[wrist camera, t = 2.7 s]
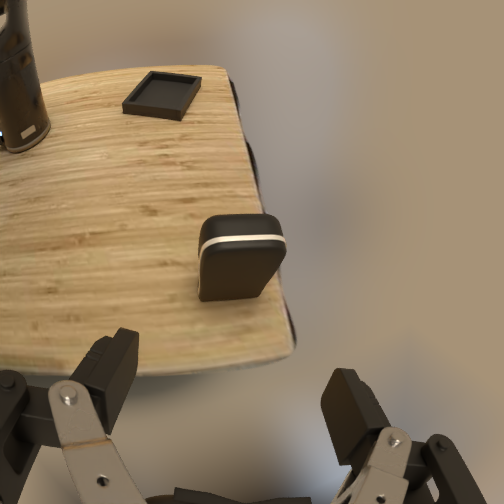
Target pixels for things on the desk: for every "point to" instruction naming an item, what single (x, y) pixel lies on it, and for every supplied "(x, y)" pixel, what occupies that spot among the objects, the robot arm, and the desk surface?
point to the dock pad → (162, 95)
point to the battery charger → (238, 255)
